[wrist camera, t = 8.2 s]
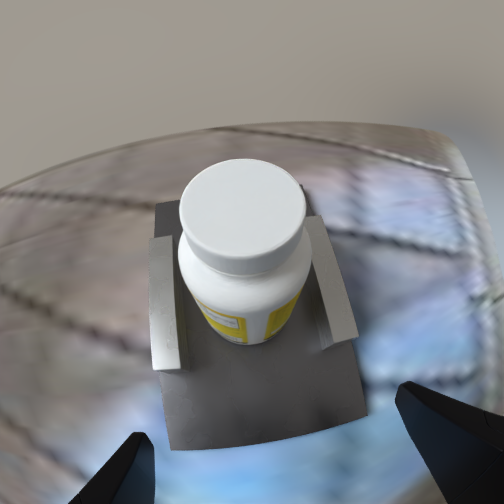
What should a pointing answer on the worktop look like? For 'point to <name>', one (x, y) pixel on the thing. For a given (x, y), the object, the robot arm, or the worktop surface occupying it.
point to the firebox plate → (251, 355)
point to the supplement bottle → (244, 247)
